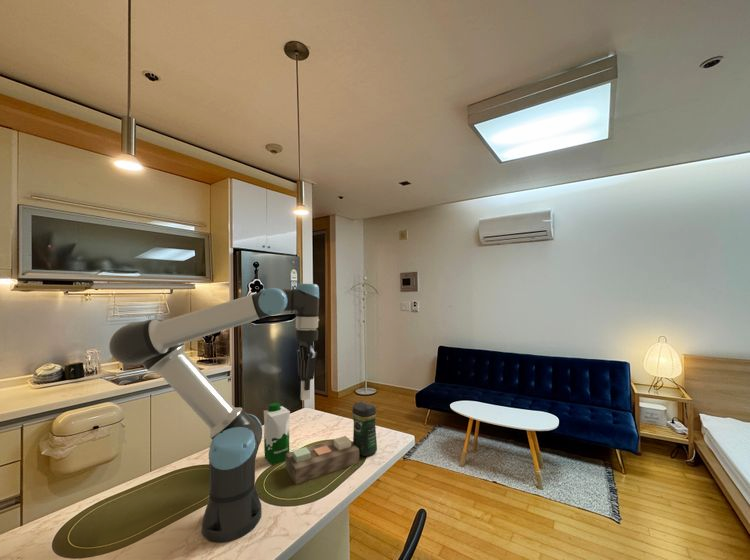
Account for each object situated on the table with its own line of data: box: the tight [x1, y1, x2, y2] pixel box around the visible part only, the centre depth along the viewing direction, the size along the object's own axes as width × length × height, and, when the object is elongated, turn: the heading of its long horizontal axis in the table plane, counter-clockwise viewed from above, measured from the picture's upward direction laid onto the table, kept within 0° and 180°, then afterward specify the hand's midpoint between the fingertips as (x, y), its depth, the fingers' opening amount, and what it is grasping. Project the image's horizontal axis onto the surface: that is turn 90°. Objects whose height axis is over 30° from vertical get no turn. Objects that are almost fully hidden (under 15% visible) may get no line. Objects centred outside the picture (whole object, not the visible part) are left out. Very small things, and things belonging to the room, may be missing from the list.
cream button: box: [333, 435, 352, 450], centre depth 120 cm, size 5×5×4 cm
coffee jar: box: [351, 401, 378, 457], centre depth 126 cm, size 10×8×19 cm
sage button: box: [291, 446, 311, 463], centre depth 111 cm, size 5×5×4 cm
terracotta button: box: [314, 445, 332, 457], centre depth 116 cm, size 5×5×4 cm
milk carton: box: [263, 402, 291, 466], centre depth 121 cm, size 9×9×20 cm
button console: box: [285, 439, 360, 485], centre depth 116 cm, size 24×12×5 cm, turn 121°
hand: (305, 399), depth 106 cm, fingers closed
